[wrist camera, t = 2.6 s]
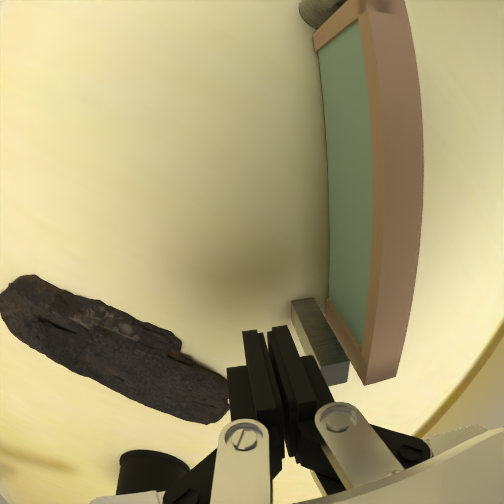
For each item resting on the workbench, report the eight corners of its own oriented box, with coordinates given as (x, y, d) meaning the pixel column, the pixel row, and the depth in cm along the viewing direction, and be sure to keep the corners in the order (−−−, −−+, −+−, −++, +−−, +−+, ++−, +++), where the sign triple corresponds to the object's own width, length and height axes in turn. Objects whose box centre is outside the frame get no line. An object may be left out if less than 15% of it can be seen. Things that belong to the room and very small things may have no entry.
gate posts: (342, -2, 14) (413, -64, 6) (327, 317, 22) (377, 405, 14) (298, -10, 14) (350, -87, 5) (287, 320, 22) (323, 416, 13)
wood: (265, 368, 24) (271, 394, 21) (220, 419, 25) (221, 445, 22) (16, 234, 18) (-7, 247, 15) (1, 307, 19) (-17, 325, 16)
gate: (342, 37, 15) (403, -4, 8) (351, 313, 22) (395, 376, 15) (312, 34, 15) (362, -14, 8) (325, 318, 21) (364, 385, 15)
